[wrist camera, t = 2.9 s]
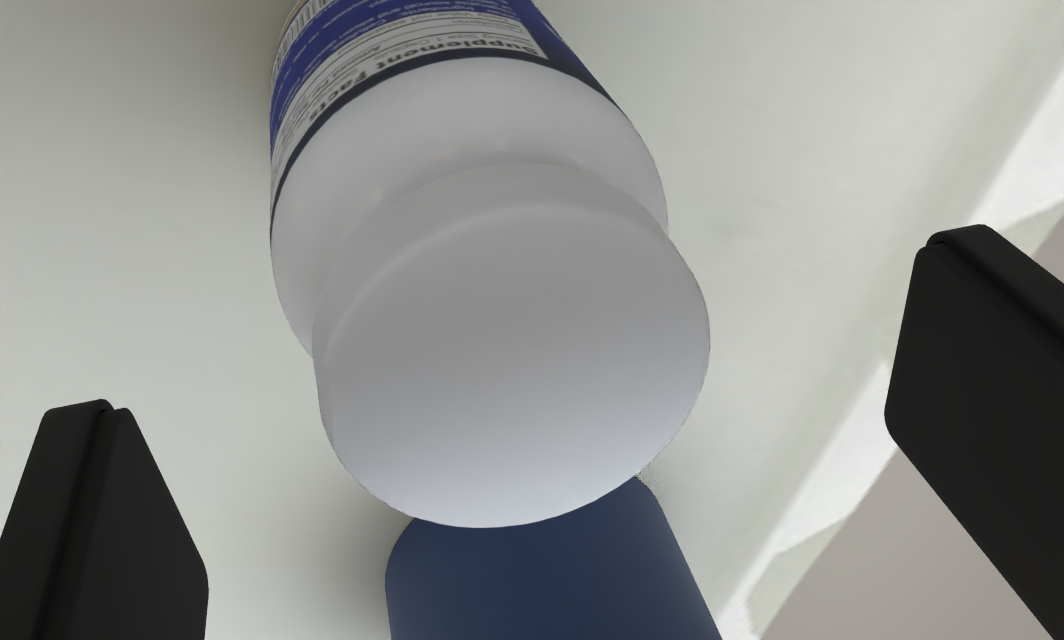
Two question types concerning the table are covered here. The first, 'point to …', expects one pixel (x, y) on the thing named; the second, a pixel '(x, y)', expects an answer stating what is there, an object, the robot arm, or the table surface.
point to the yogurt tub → (549, 578)
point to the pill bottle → (474, 260)
